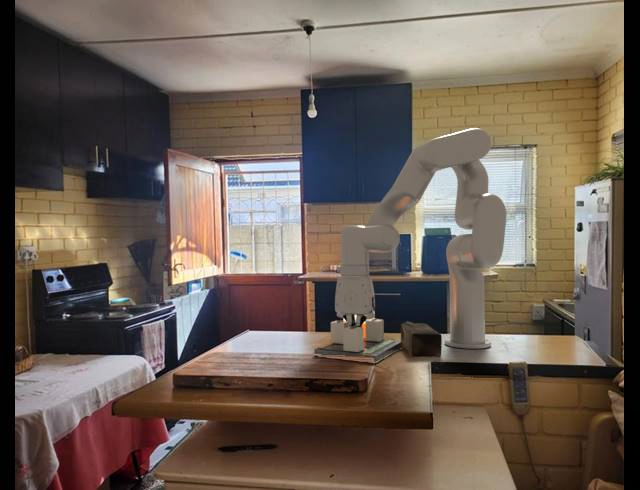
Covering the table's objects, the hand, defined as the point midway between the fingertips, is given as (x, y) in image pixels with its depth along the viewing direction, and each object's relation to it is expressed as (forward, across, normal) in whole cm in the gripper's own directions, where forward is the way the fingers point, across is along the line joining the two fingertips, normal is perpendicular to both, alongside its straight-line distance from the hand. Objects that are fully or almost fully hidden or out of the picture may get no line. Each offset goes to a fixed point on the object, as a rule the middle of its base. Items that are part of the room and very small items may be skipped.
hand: (355, 339), depth 124 cm
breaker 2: (+1, +3, +7) cm, 8 cm away
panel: (+3, +1, 0) cm, 4 cm away
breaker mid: (+1, -5, 0) cm, 5 cm away
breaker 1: (+1, +2, -7) cm, 8 cm away
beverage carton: (+4, +14, +11) cm, 19 cm away
